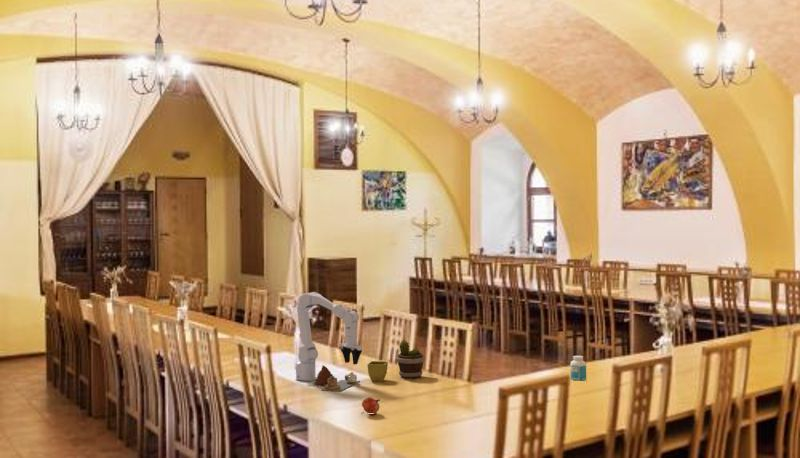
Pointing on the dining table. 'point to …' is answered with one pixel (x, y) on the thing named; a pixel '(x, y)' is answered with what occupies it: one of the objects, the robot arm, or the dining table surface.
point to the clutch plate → (350, 377)
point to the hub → (351, 381)
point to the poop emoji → (323, 376)
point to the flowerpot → (409, 361)
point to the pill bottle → (578, 369)
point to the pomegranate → (370, 405)
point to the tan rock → (332, 383)
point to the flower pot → (377, 370)
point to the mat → (341, 386)
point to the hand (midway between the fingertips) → (351, 363)
